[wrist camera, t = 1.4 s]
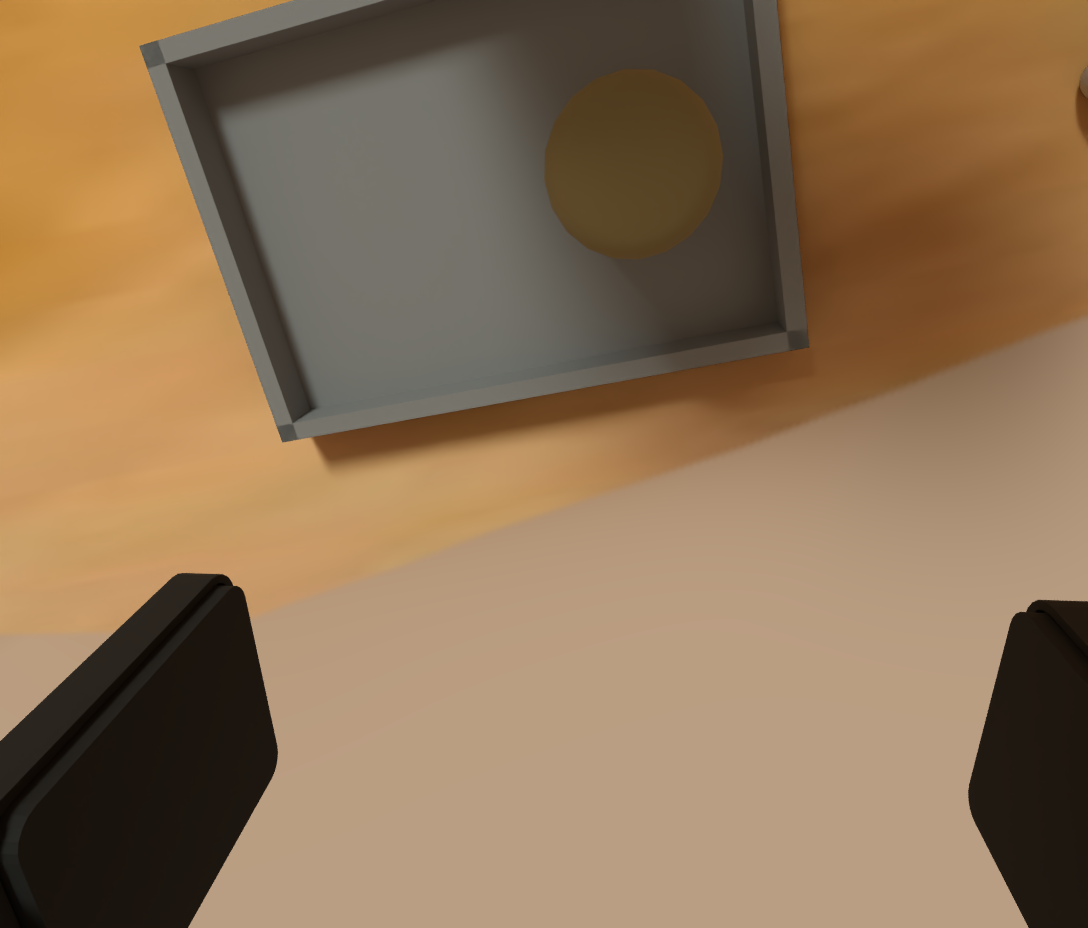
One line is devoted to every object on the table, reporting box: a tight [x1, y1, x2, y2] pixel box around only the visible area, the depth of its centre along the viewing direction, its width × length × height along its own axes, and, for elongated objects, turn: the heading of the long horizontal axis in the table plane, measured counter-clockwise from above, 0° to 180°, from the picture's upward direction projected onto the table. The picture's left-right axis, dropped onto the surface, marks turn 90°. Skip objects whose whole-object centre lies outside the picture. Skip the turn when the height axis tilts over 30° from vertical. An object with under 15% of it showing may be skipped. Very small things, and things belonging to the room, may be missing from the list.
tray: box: [139, 0, 809, 442], centre depth 31 cm, size 24×17×2 cm
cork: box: [544, 69, 723, 259], centre depth 26 cm, size 6×6×11 cm
